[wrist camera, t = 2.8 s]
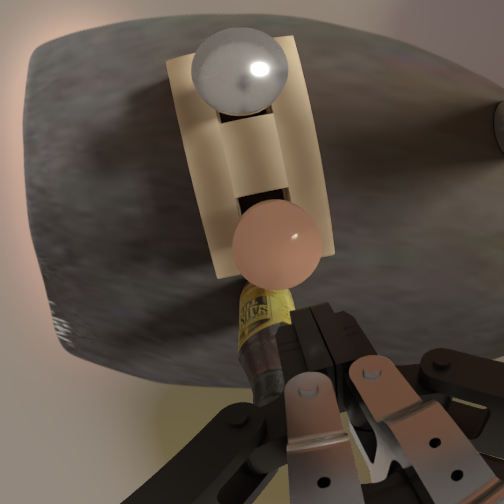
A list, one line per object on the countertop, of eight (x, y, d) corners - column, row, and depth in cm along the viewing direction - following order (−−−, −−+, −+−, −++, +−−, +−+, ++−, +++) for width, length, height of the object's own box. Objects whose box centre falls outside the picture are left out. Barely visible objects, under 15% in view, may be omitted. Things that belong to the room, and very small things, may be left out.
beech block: (284, 53, 28) (292, 35, 23) (320, 237, 36) (334, 254, 30) (178, 74, 29) (165, 61, 23) (221, 257, 36) (217, 278, 30)
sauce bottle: (255, 262, 36) (268, 379, 18) (299, 284, 38) (344, 403, 19) (229, 305, 38) (222, 432, 19) (272, 324, 39) (292, 450, 21)
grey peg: (266, 54, 22) (276, 21, 15) (281, 116, 24) (297, 103, 17) (199, 68, 23) (183, 39, 15) (213, 130, 25) (201, 122, 17)
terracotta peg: (294, 182, 26) (315, 196, 19) (305, 244, 28) (327, 279, 21) (228, 195, 27) (222, 214, 19) (242, 258, 29) (243, 297, 21)
